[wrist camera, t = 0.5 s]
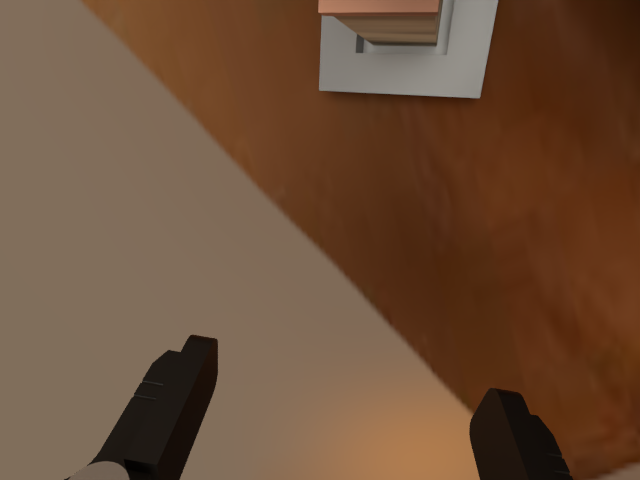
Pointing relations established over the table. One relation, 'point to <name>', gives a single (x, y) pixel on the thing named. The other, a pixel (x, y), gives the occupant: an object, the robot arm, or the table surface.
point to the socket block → (412, 56)
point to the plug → (388, 20)
